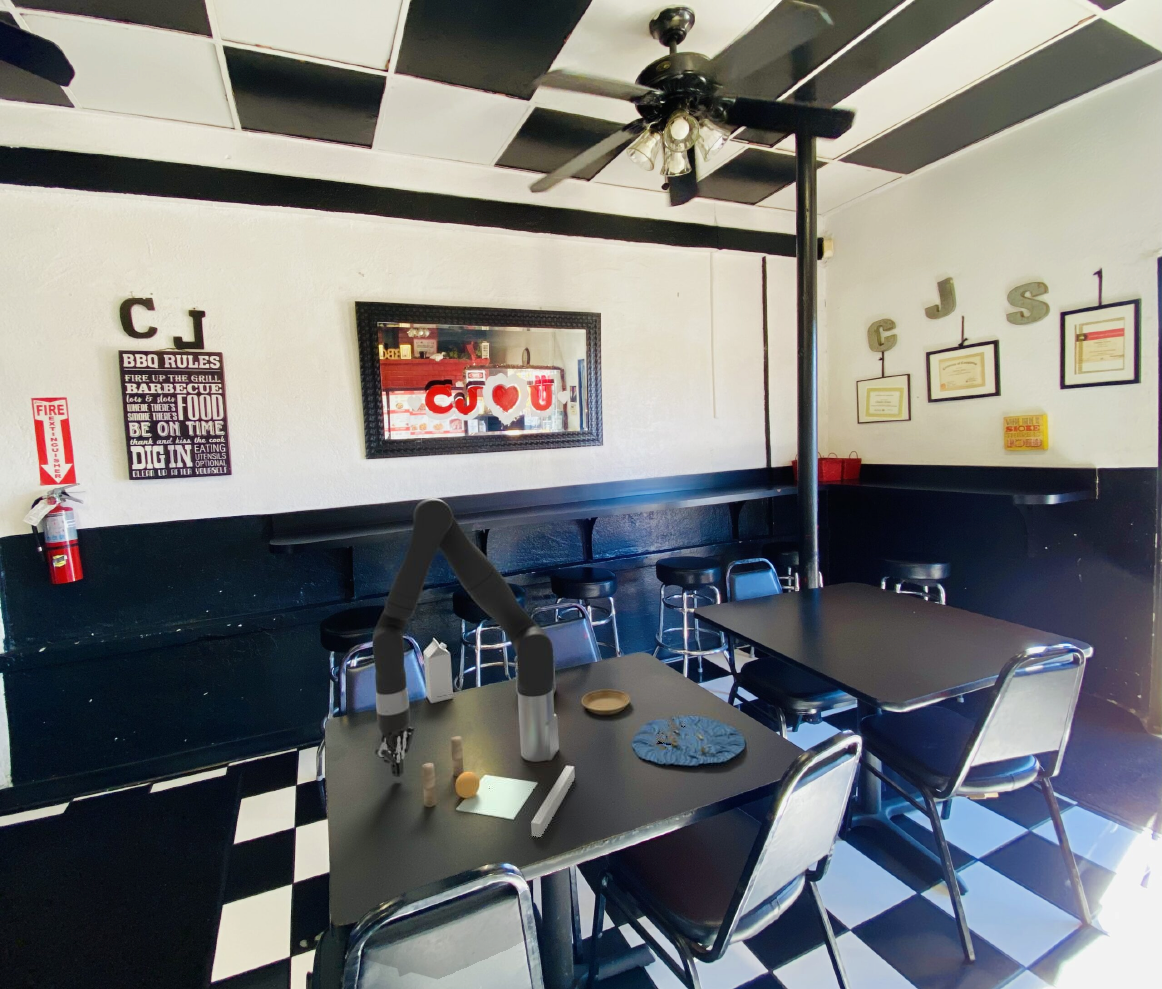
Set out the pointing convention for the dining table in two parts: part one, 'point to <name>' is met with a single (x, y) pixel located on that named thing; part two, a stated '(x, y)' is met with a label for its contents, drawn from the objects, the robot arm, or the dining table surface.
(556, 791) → the rail
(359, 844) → the dining table surface
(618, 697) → the plant saucer
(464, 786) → the ball
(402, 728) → the robot arm
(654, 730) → the decorative plate
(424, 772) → the post left
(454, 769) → the post right
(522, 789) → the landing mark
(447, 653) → the milk carton
